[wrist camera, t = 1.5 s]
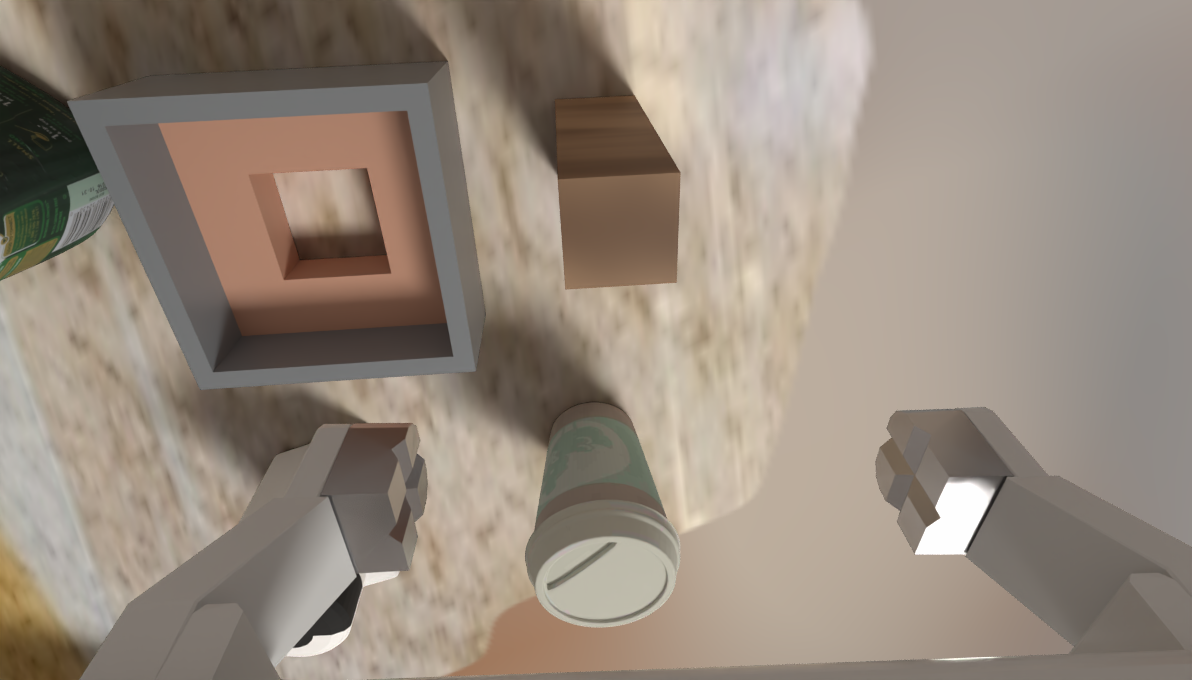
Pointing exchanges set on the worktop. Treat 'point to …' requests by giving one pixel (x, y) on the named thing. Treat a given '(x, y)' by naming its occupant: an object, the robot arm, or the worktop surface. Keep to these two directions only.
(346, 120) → the box
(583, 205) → the peg
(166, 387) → the worktop surface
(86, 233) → the coffee jar
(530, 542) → the coffee cup
